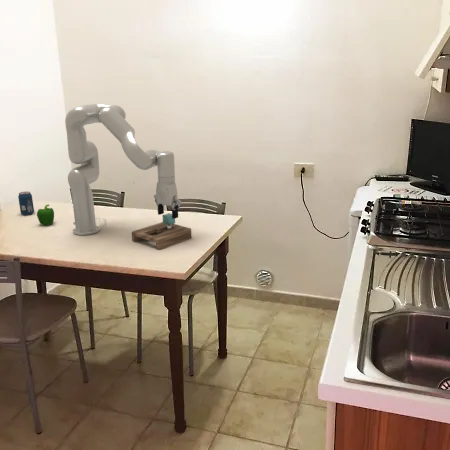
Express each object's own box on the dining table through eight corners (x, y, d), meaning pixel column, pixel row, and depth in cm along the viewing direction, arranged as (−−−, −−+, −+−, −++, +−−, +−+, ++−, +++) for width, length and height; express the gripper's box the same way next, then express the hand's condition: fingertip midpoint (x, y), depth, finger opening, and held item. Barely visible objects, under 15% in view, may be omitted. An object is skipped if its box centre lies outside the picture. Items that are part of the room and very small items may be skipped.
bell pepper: (42, 228, 251) (39, 208, 248) (36, 224, 257) (33, 205, 254) (58, 224, 257) (56, 205, 253) (52, 221, 262) (49, 202, 259)
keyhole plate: (132, 241, 229) (131, 231, 228) (165, 230, 243) (164, 221, 242) (158, 249, 218) (157, 240, 216) (191, 237, 232) (191, 228, 230)
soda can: (25, 212, 279) (21, 191, 276) (36, 212, 278) (33, 191, 275) (18, 215, 273) (15, 194, 269) (30, 216, 272) (27, 194, 268)
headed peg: (162, 236, 234) (160, 215, 231) (170, 234, 237) (169, 212, 234) (169, 239, 231) (168, 217, 227) (177, 236, 234) (176, 214, 231)
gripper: (147, 178, 229) (149, 214, 234) (173, 183, 218) (174, 221, 223) (160, 175, 234) (161, 210, 239) (186, 180, 223) (187, 217, 228)
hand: (168, 216), depth 231 cm, fingers open, 9 cm apart
